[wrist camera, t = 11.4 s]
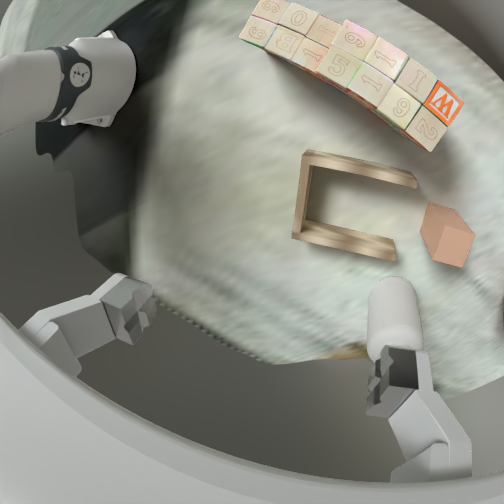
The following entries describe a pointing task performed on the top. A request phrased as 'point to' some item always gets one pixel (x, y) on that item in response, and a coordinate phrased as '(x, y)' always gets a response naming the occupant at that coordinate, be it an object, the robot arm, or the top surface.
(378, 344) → the pill bottle
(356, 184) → the top surface
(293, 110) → the top surface
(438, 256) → the terracotta block
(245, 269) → the top surface
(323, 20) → the stack of blocks
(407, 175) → the oak u-shaped frame
